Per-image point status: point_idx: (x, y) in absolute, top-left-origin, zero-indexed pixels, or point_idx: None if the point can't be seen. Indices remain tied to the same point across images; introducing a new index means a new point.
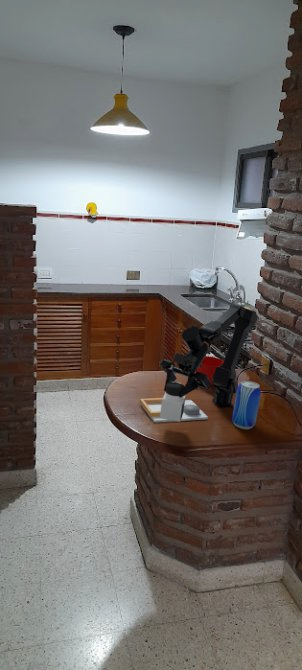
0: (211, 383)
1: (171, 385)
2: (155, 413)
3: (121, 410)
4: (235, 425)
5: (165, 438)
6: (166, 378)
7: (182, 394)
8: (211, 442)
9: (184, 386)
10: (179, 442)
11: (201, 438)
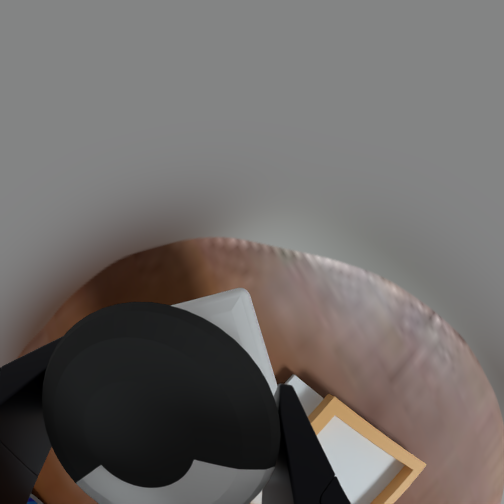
0: None
1: (163, 344)
2: (316, 414)
3: (440, 363)
4: (40, 502)
5: (185, 274)
6: (346, 498)
7: None
8: None
9: (12, 391)
10: (127, 279)
11: None
